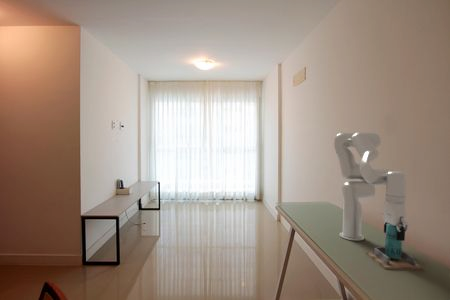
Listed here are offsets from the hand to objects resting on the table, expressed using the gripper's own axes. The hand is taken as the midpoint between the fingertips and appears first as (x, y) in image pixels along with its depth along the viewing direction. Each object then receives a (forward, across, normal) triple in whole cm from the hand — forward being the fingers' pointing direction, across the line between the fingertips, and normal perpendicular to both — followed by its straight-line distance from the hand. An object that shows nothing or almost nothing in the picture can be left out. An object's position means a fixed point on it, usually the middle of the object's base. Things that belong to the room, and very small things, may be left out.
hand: (393, 236), depth 123 cm
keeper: (+11, 0, 0) cm, 11 cm away
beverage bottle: (+11, 0, 0) cm, 11 cm away
